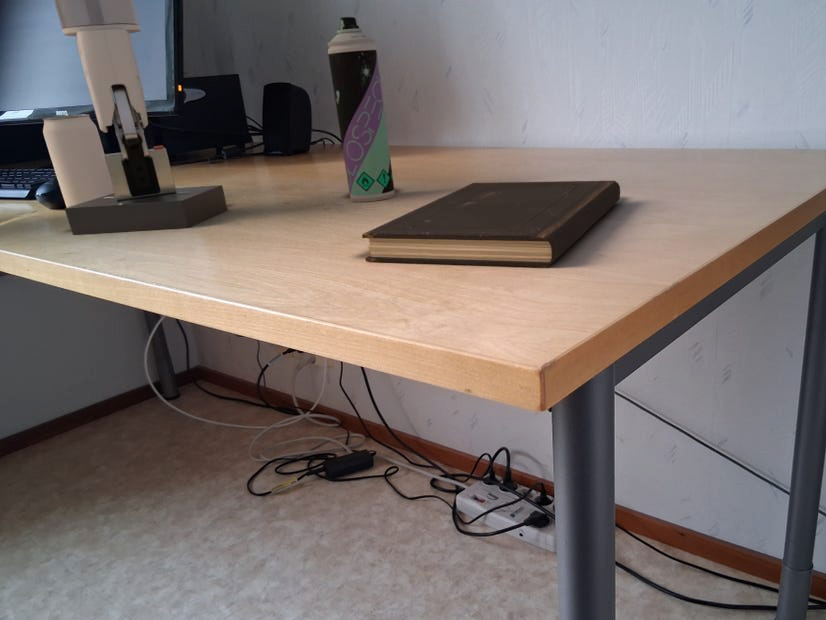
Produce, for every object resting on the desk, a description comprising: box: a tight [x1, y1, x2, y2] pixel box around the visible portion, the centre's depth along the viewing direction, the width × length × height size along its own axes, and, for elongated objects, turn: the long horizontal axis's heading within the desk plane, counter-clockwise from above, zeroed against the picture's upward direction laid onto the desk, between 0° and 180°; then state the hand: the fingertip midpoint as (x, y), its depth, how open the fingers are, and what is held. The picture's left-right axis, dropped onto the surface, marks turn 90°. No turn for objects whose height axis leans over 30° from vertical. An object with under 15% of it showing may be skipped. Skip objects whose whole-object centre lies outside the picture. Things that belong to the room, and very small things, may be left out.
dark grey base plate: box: [64, 184, 228, 236], centre depth 82 cm, size 14×11×3 cm
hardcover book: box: [361, 180, 621, 268], centre depth 63 cm, size 16×23×2 cm
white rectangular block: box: [104, 145, 177, 201], centre depth 80 cm, size 6×2×5 cm, turn 117°
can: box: [42, 114, 114, 208], centre depth 95 cm, size 6×6×12 cm
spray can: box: [327, 16, 396, 203], centre depth 82 cm, size 6×6×20 cm
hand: (145, 192), depth 81 cm, fingers closed on white rectangular block, 2 cm apart
